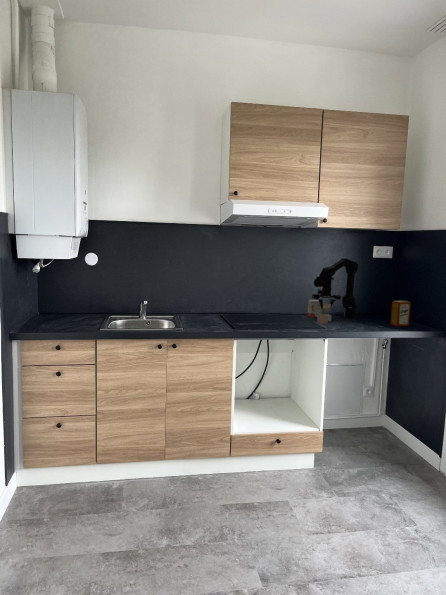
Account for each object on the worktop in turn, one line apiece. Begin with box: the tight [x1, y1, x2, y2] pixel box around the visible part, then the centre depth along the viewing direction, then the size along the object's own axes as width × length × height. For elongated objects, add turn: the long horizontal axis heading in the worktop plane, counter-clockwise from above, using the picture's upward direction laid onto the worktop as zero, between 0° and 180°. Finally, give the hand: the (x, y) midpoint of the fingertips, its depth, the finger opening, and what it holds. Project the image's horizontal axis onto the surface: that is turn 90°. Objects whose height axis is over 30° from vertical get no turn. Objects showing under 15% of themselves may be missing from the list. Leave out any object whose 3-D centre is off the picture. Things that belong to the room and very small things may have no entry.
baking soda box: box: [390, 300, 412, 327], centre depth 296 cm, size 10×6×16 cm
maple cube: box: [321, 302, 332, 312], centre depth 307 cm, size 5×5×5 cm
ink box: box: [307, 299, 322, 318], centre depth 320 cm, size 9×5×12 cm, turn 103°
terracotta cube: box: [316, 315, 329, 324], centre depth 296 cm, size 5×5×5 cm
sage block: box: [319, 313, 332, 322], centre depth 308 cm, size 7×7×4 cm
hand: (325, 309), depth 307 cm, fingers closed on maple cube, 5 cm apart
